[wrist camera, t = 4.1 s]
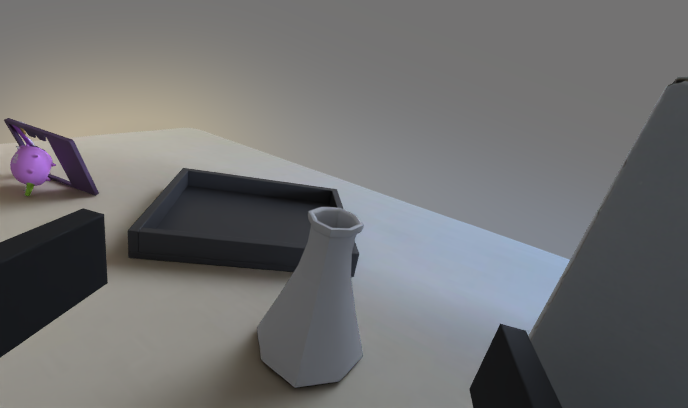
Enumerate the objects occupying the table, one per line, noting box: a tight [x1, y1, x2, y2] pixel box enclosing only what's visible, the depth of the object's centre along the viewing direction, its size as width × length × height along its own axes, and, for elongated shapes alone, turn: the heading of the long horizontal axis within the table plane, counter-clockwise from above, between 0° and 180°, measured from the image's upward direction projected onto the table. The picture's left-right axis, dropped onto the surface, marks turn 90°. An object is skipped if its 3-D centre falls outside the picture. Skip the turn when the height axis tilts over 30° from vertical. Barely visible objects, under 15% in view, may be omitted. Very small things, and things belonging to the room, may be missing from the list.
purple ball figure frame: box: [4, 118, 99, 196], centre depth 35 cm, size 7×5×9 cm
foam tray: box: [128, 168, 359, 277], centre depth 38 cm, size 20×17×3 cm
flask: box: [257, 207, 364, 388], centre depth 23 cm, size 7×7×10 cm
